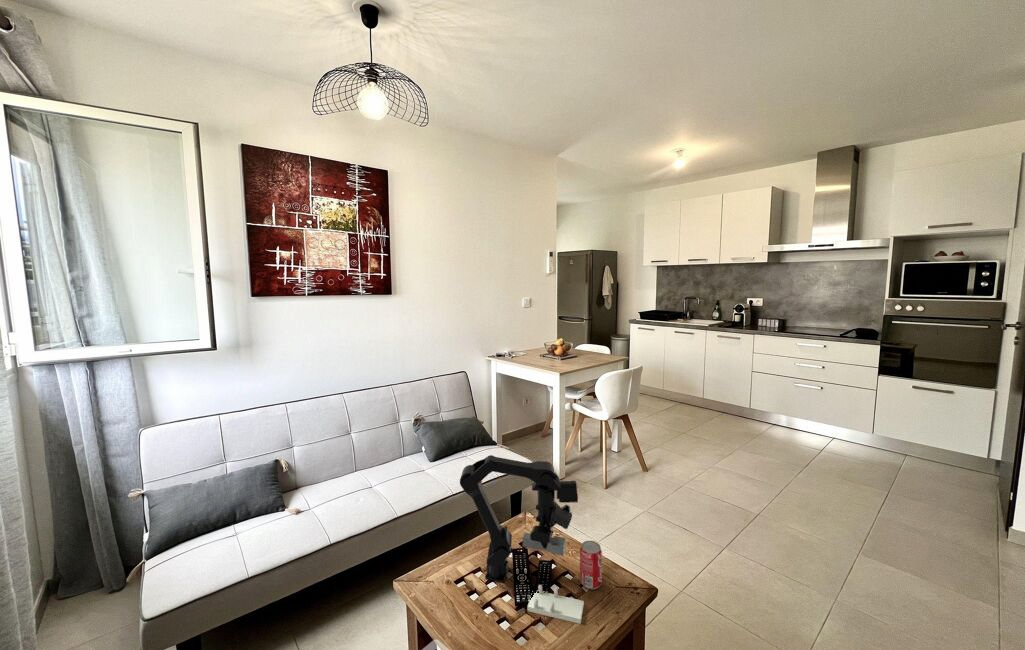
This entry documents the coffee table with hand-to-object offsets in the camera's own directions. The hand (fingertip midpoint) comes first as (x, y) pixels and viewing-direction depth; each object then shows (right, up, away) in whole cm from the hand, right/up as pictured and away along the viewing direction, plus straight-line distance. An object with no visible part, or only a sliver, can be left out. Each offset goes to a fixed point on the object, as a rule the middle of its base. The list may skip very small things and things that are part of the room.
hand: (546, 545), depth 137 cm
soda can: (+14, -11, -3) cm, 19 cm away
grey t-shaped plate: (0, -1, 0) cm, 1 cm away
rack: (+2, -12, -13) cm, 18 cm away
